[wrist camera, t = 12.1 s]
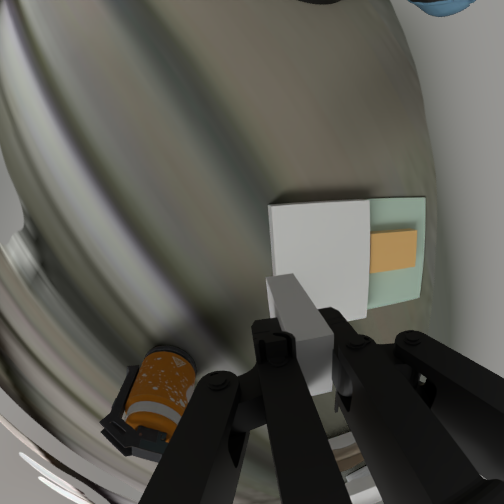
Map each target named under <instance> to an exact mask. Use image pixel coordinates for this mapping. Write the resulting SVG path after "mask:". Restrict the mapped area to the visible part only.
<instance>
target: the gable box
mask: <svg viewBox="0 0 504 504" xmlns="http://www.w3.org/2000/svg"><path fill="white" fill-rule="evenodd" d="M328 441H329V443H330V446H331V449H332V451H333V454H334V457H335V459H336V462H337V464H338V467H339V470H340V472H342V471H346V470H348V469H350V468H352V467H354V466H356V465H357V464H359V463H361V462H363V461H365V460H364V458H363V456H362V454H361V452H360V450H359V447H358V445H357V443H356V441H355V439H354V437H353V435H352V432H351V431H350V432H348V433H345V434H342V435H339V436H336V437H334V438H331V439H328ZM345 485H346V488H347V491H348V493H349V496H350V499H351V501H352V504H375V503H377V502H379V501H382V498H381V496H380V493H379V491H378V489H377V487H376V485H375V482H374V480H373V478H372V476H371V475H369V476H365V477H361V478H358V479H354V480H352V481H349V482H347V483H345Z"/></svg>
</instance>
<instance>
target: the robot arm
mask: <svg viewBox="0 0 504 504" xmlns="http://www.w3.org/2000/svg"><path fill="white" fill-rule="evenodd" d="M299 1H302V2H307V3H312V4H332V3H335V2H338V1H340V0H299ZM408 1H409V2H410V3H413V4H415V5H416V6H417V7H419V8H420V9H421V10H423V11H424V12H425V13H427V14H429V15H432V16H436V17H445V16H449V15H453V14H456V13H458V12H460V11H462V10H464V9H466V8H467V7H469V6H470V5H469V4H470V3H473V2H475V1H476V0H408ZM266 284H267V293H268V302H269V311H270V318H268V319H262V320H255V321H254V323H253V325H252V326H251V328H252V335H253V342H254V349H255V355H256V364H255V366H254V367H253V369H252V370H250V371H249V372H247V373H245V374H243V375H240V376H236V375H235V374H234V373H232V372H229V371H214V372H211V373H208V374H207V375H205V376H203V377H202V378H201V379H200V381H199V382H198V384H197V386H196V388H195V390H194V392H193V394H192V396H191V398H190V400H189V403H188V405H187V407H186V409H185V411H184V413H183V415H182V417H181V419H180V421H179V423H178V425H177V427H176V429H175V431H174V433H173V435H172V437H171V439H170V441H169V443H168V445H167V447H166V449H165V451H164V453H163V455H162V457H161V459H160V461H159V463H158V465H157V467H156V469H155V471H154V473H153V475H152V477H151V479H150V481H149V483H148V485H147V487H146V489H145V491H144V493H143V495H142V497H141V500H140V501H139V503H138V504H233V500H234V496H235V492H236V488H237V484H238V480H239V476H240V472H241V468H242V464H243V460H244V456H245V452H246V447H247V443H248V439H249V434H250V430H252V429H255V428H257V427H260V426H262V425H265V424H267V428H268V434H269V439H270V445H271V451H272V456H273V462H274V467H275V473H276V478H277V483H278V489H279V494H280V499H281V504H352V501H351V499H350V496H349V493H348V491H347V488H346V485H345V483H344V480H343V478H342V475H341V472H340V470H339V467H338V464H337V462H336V459H335V457H334V454H333V451H332V449H331V446H330V443H329V441H328V438H327V436H326V433H325V430H324V428H323V425H322V423H321V420H320V417H319V415H318V412H317V409H316V407H315V404H314V402H313V399H312V396H313V395H318V394H322V393H326V392H330V391H332V381H333V383H334V385H335V387H336V397H335V408H334V409H335V413H336V412H338V406H339V407H340V409H341V411H342V413H343V415H344V417H345V420H346V422H347V424H348V426H349V428H350V430H351V432H352V435H353V437H354V439H355V441H356V443H357V445H358V447H359V450H360V452H361V454H362V456H363V458H364V460H365V463H366V465H367V467H368V469H369V471H370V474H371V476H372V478H373V480H374V482H375V485H376V487H377V489H378V491H379V493H380V496H381V498H382V500H383V502H384V504H504V378H502V377H500V376H499V375H497V374H495V373H493V372H492V371H490V370H488V369H486V368H485V367H483V366H481V365H479V364H477V363H475V362H474V361H472V360H470V359H469V358H467V357H465V356H463V355H462V354H460V353H458V352H456V351H454V350H453V349H451V348H449V347H447V346H445V345H444V344H442V343H440V342H438V341H437V340H435V339H433V338H431V337H429V336H428V335H426V334H424V333H422V332H419V331H414V330H408V331H404V332H401V333H399V334H398V335H397V336H396V339H395V343H393V344H376V343H375V341H374V340H373V339H371V338H370V337H368V336H365V335H360V334H357V332H356V331H355V330H354V329H353V328H352V326H351V325H350V324H349V323H348V322H347V320H346V319H345V318H344V317H343V315H342V314H341V313H340V312H339V311H338V310H336V309H334V308H332V307H327V308H321V309H317V308H316V306H315V305H314V303H313V302H312V300H311V299H310V298H309V296H308V295H307V293H306V292H305V290H304V289H303V287H302V286H301V284H300V283H299V281H298V280H297V279H296V277H295V276H294V274H293V273H291V274H284V275H278V276H271V277H266ZM421 374H422V375H423V376H425V377H426V378H427V379H426V382H425V383H423V382H421V381H419V380H420V376H421ZM480 475H482V476H483V477H484V478H486V479H487V480H486V479H483V478H482V477H481V476H480Z"/></svg>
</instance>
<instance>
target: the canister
mask: <svg viewBox="0 0 504 504" xmlns="http://www.w3.org/2000/svg"><path fill="white" fill-rule="evenodd" d="M195 377H196V365H195V363H194V361H193V359H192V358H191V357H190V356H189V355H188V354H187V353H186V352H184V351H183V350H181V349H179V348H176V347H172V346H158V347H155V348H153V349H151V350H150V351H149V352H148V353H147V354H146V356H145V358H144V361H143V363H142V365H141V368H140V370H139V365H135V366H127V376H126V378H125V381H124V383H123V385H122V387H121V389H120V392H119V394H118V396H117V398H115V401H114V403H113V406H112V410H111V412H110V414H108V415H107V416H106V417H105V418H104V419H102V420H101V421H100V422H99V423H100V424H101V425H102V426H103V427H104V429H103V430H102V431H101V433H102V434H103V435H104V436H105V437H106V438H107V439H108V440H109V441H110V442H111V443H112V444H113V445H114V446H115V447H116V448H117V449H118V450H119V451H120V452H121V453H122V454H123V455H124V456H131V455H133V456H136V457H139V458H143V459H146V460H150V461H154V462H158V463H159V461H160V459H161V457H162V455H163V453H164V451H165V449H166V447H167V445H168V443H169V441H170V439H171V437H172V435H173V433H174V431H175V429H176V427H177V425H178V423H179V421H180V419H181V417H182V415H183V413H184V411H185V409H186V407H187V405H188V403H189V400H190V398H191V396H192V394H193V392H194V385H195ZM124 410H125V412H126V417H125V421H124V420H123V419H121V418H122V416H123V413H124ZM124 430H125V431H124Z"/></svg>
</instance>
